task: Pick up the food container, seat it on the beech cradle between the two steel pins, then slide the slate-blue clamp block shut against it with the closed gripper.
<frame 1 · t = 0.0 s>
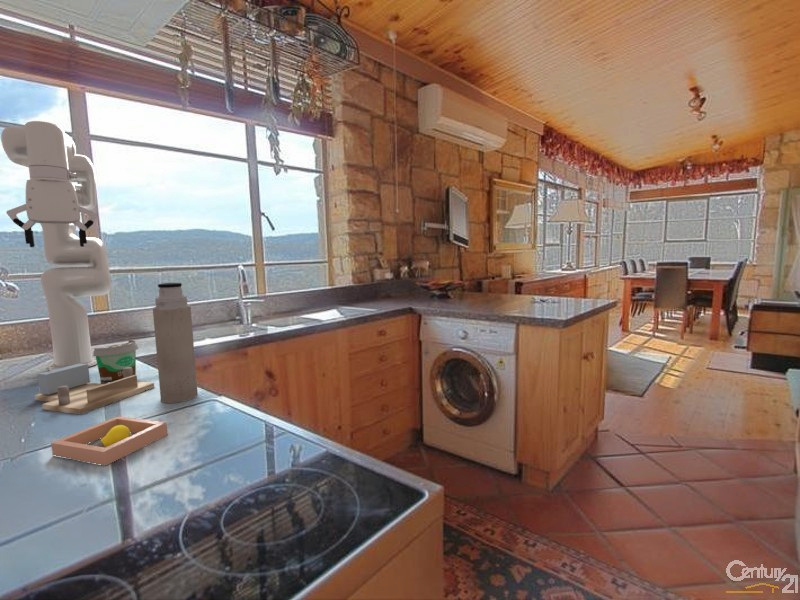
hand: (57, 246, 104), 37 cm above the counter, tool pointing down, fingers open, 9 cm apart
thermos bottle: (179, 398, 102), on the counter
clamp block: (64, 378, 107), point 4 cm above the counter, slide at 0.0 cm
food container: (124, 379, 120), on the counter
pink square frame: (113, 445, 77), on the counter
cradle: (99, 397, 104), on the counter
light bulb: (112, 447, 77), on the counter
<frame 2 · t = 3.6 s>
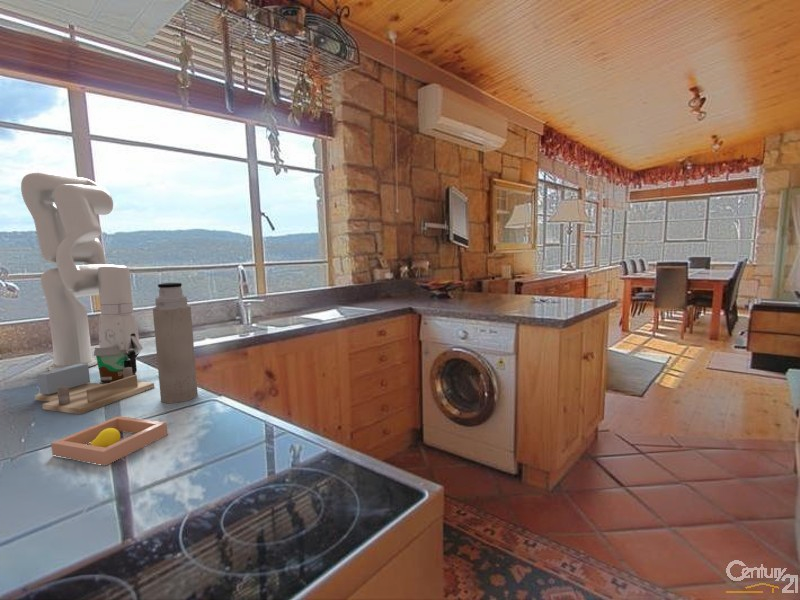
hand: (122, 371, 120), 2 cm above the counter, tool pointing down, fingers closed on food container, 5 cm apart
food container: (124, 378, 120), on the counter, touching gripper
light bulb: (102, 450, 75), on the counter
everything else where it was.
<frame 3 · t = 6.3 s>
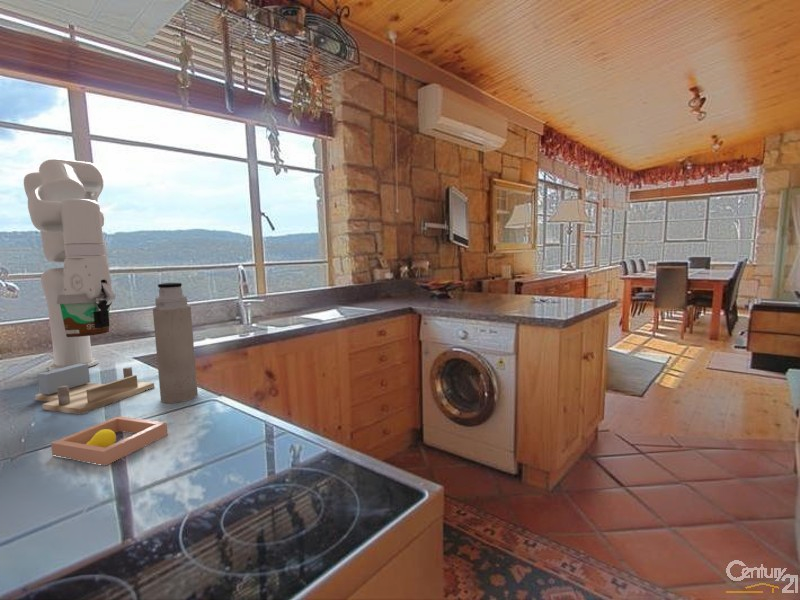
hand: (93, 326, 102), 18 cm above the counter, tool pointing down, fingers closed on food container, 5 cm apart
food container: (95, 334, 102), point 16 cm above the counter, touching gripper
when the fingers open (5 cm above the counter, at t = 9.1 s): food container drops 2 cm, resting on cradle.
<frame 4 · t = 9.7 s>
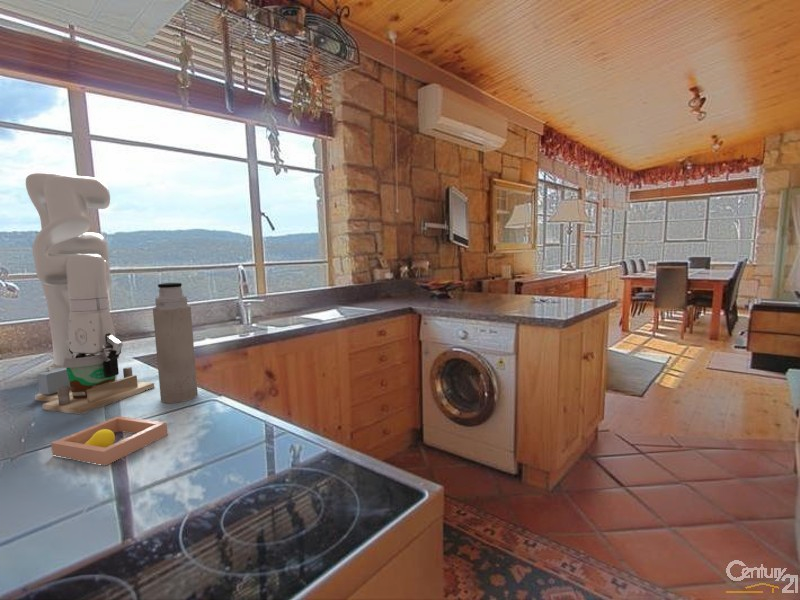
hand: (97, 374, 103), 6 cm above the counter, tool pointing down, fingers open, 9 cm apart
food container: (101, 393, 103), point 1 cm above the counter, touching cradle
everything else where it was.
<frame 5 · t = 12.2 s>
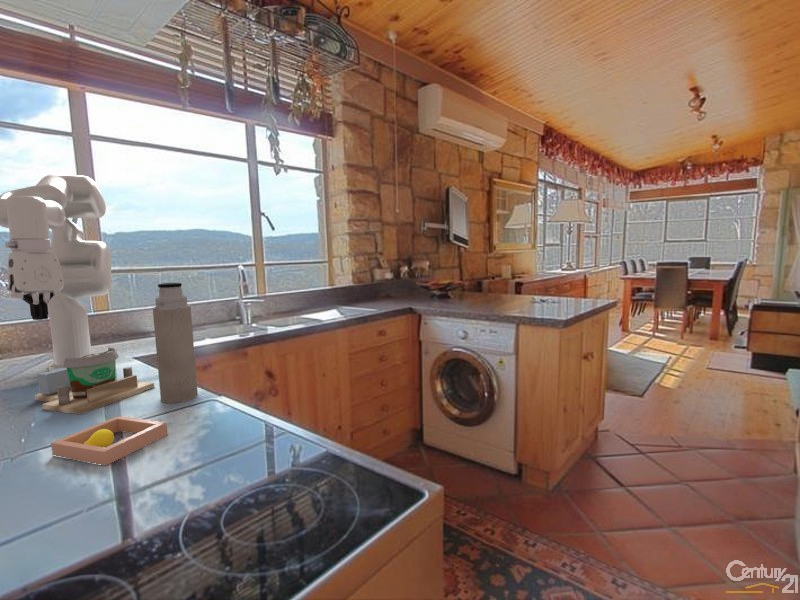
hand: (40, 319, 107), 19 cm above the counter, tool pointing down, fingers closed
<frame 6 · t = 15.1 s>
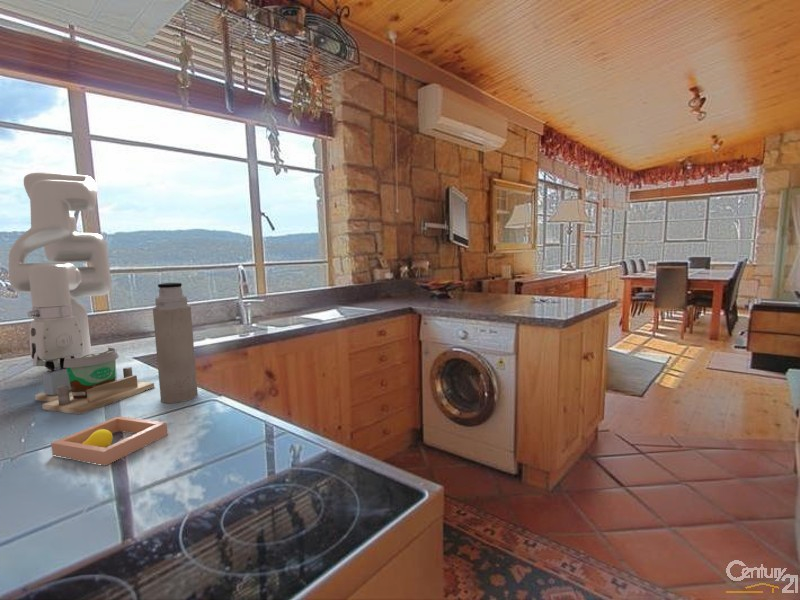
hand: (61, 384, 107), 2 cm above the counter, tool pointing down, fingers closed
clamp block: (69, 378, 106), point 4 cm above the counter, slide at 1.7 cm, touching gripper
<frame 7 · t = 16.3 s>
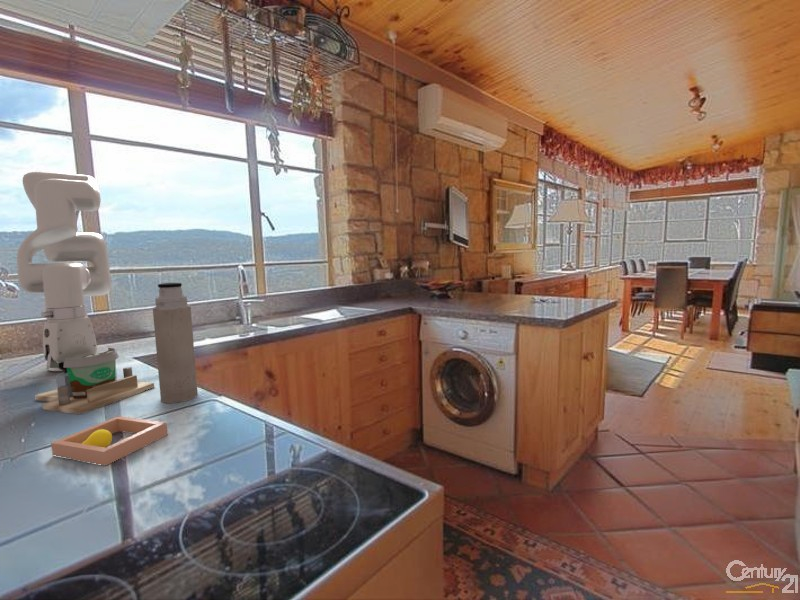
hand: (74, 385, 106), 2 cm above the counter, tool pointing down, fingers closed
clamp block: (82, 380, 105), point 4 cm above the counter, slide at 6.3 cm, touching gripper
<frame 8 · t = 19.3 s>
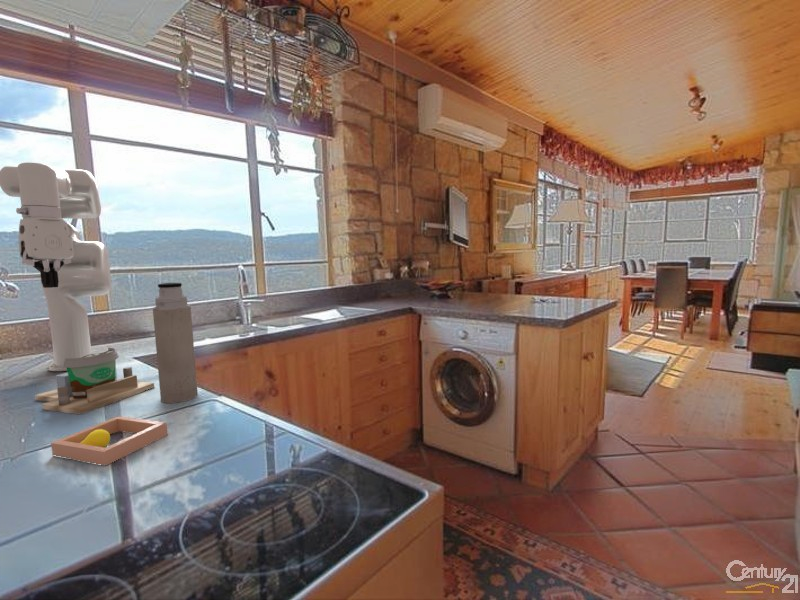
hand: (50, 287, 107), 27 cm above the counter, tool pointing down, fingers closed
clamp block: (82, 380, 105), point 4 cm above the counter, slide at 6.3 cm
at the end: food container inside the target area on the cradle (0.5 cm from its centre), point 1.0 cm above the cradle's base; food container tilted 0°; clamp block slide at 6.3 cm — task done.
